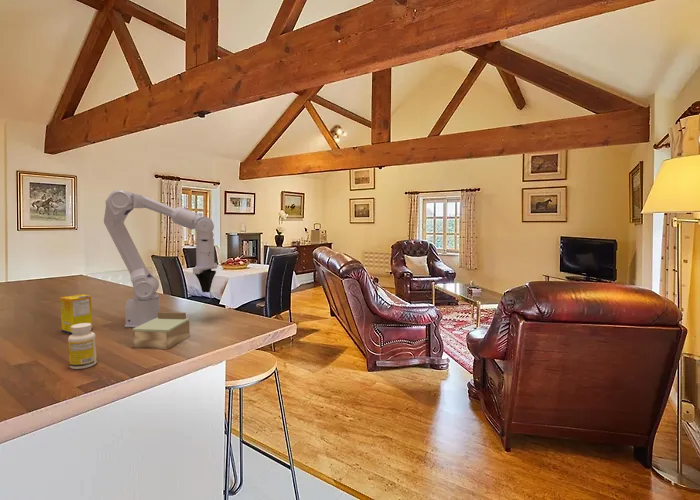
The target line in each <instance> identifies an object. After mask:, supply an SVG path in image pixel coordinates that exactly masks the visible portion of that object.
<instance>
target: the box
mask: <svg viewBox="0 0 700 500" xmlns="http://www.w3.org/2000/svg"><path fill="white" fill-rule="evenodd" d="M131 333H132V348H134V349H160V350H161V349H162V350H163V349H164V350H169V349H171V348H172V347H174V346H176V345H177V344H179V343H180V342H182V341H183V340H185V339H187V338H189V336H190V335H191V334H190V333H191V332H190V320H189V321H188V322H186V323H184V324H182V325H180V326H179V327H177V328H175V329H173V330H171V331H170V332H146V331H131Z"/></svg>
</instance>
